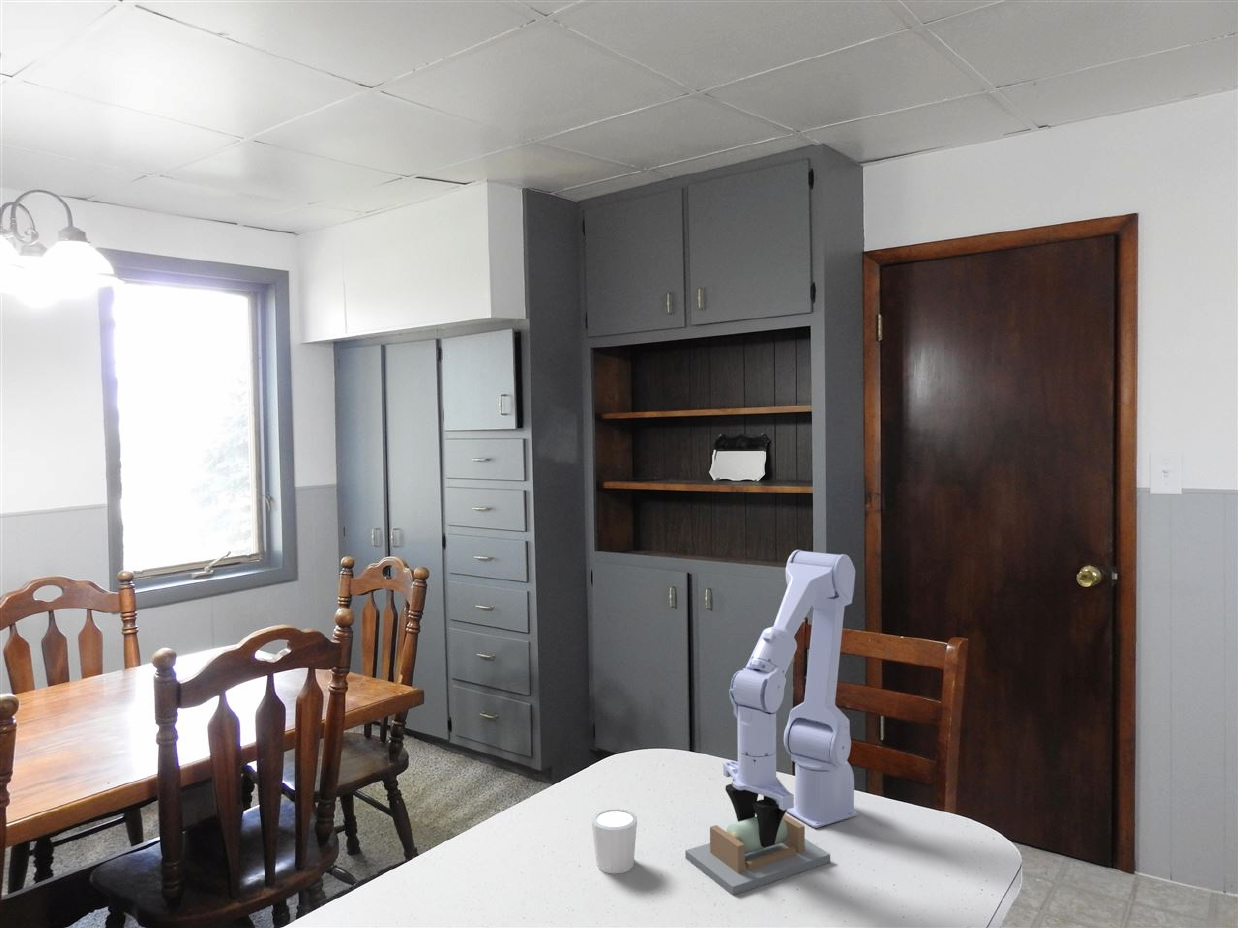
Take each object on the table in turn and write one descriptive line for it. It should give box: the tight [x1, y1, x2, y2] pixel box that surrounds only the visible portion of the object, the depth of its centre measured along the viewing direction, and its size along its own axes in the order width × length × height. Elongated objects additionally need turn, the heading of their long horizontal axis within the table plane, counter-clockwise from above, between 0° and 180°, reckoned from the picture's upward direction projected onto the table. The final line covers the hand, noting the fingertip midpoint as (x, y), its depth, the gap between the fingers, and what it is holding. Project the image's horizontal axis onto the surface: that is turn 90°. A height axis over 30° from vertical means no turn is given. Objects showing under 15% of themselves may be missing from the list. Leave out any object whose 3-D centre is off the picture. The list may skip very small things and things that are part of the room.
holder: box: [684, 813, 831, 896], centre depth 133 cm, size 18×12×5 cm, turn 119°
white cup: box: [591, 808, 638, 874], centre depth 133 cm, size 7×7×7 cm
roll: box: [725, 816, 787, 854], centre depth 133 cm, size 8×4×4 cm, turn 119°
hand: (757, 837), depth 133 cm, fingers closed on roll, 4 cm apart
